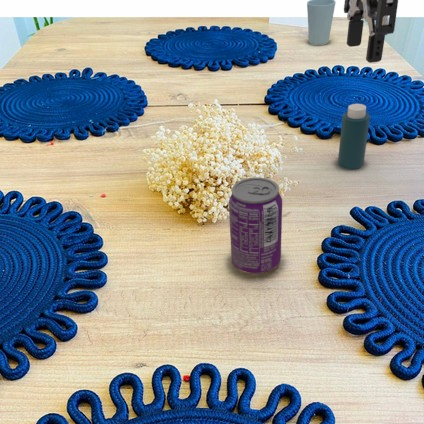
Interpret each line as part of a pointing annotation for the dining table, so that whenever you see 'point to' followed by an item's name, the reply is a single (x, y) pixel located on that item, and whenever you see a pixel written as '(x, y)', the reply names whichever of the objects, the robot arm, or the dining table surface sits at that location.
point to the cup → (320, 20)
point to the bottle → (353, 137)
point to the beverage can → (255, 225)
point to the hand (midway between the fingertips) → (363, 53)
